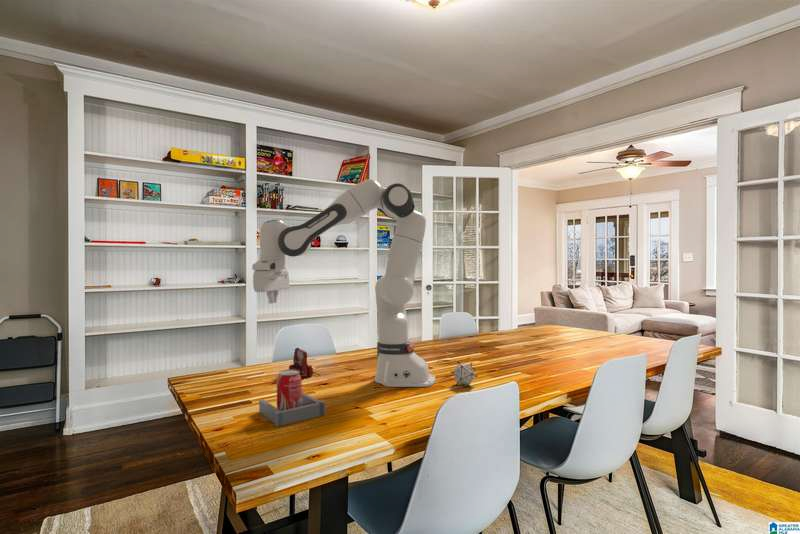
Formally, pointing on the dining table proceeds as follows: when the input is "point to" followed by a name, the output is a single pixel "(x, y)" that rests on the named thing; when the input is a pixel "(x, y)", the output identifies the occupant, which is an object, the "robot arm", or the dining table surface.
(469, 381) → the game die
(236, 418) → the dining table surface
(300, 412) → the corral
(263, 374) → the dining table surface
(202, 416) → the dining table surface
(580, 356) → the dining table surface
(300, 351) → the toy fire truck
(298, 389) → the soda can
